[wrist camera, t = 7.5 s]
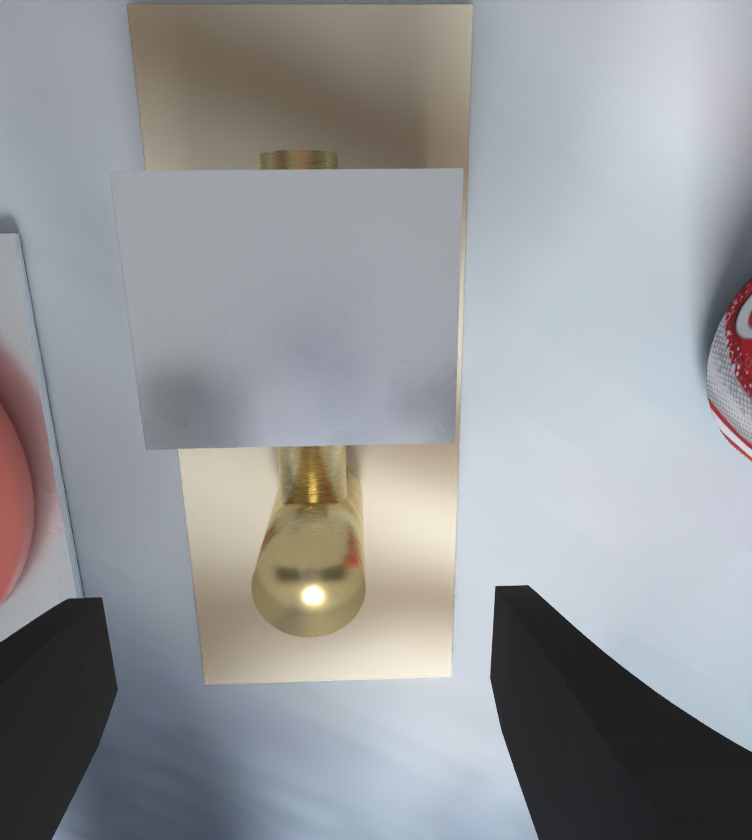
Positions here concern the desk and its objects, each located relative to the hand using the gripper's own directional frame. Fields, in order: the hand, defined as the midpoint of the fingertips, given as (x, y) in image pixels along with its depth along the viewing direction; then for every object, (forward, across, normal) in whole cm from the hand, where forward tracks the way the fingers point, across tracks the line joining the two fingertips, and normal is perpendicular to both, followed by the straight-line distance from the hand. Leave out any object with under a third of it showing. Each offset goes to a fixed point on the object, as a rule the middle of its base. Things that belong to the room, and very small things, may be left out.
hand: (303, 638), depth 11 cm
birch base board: (+7, 0, -3) cm, 8 cm away
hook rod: (+6, 0, -4) cm, 7 cm away
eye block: (+7, 0, -6) cm, 9 cm away
